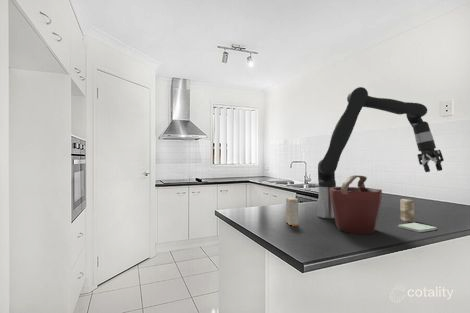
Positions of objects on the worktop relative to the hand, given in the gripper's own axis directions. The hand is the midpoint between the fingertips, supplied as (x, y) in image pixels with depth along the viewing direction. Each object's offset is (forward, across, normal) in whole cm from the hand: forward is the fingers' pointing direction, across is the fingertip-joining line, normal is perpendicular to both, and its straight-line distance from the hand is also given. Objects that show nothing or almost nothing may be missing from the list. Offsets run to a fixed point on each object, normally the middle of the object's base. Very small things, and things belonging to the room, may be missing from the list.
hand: (433, 171), depth 135 cm
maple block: (+23, -5, -17) cm, 29 cm away
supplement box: (+14, +2, -78) cm, 80 cm away
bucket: (+20, +12, -51) cm, 56 cm away
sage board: (+24, +10, -22) cm, 34 cm away
